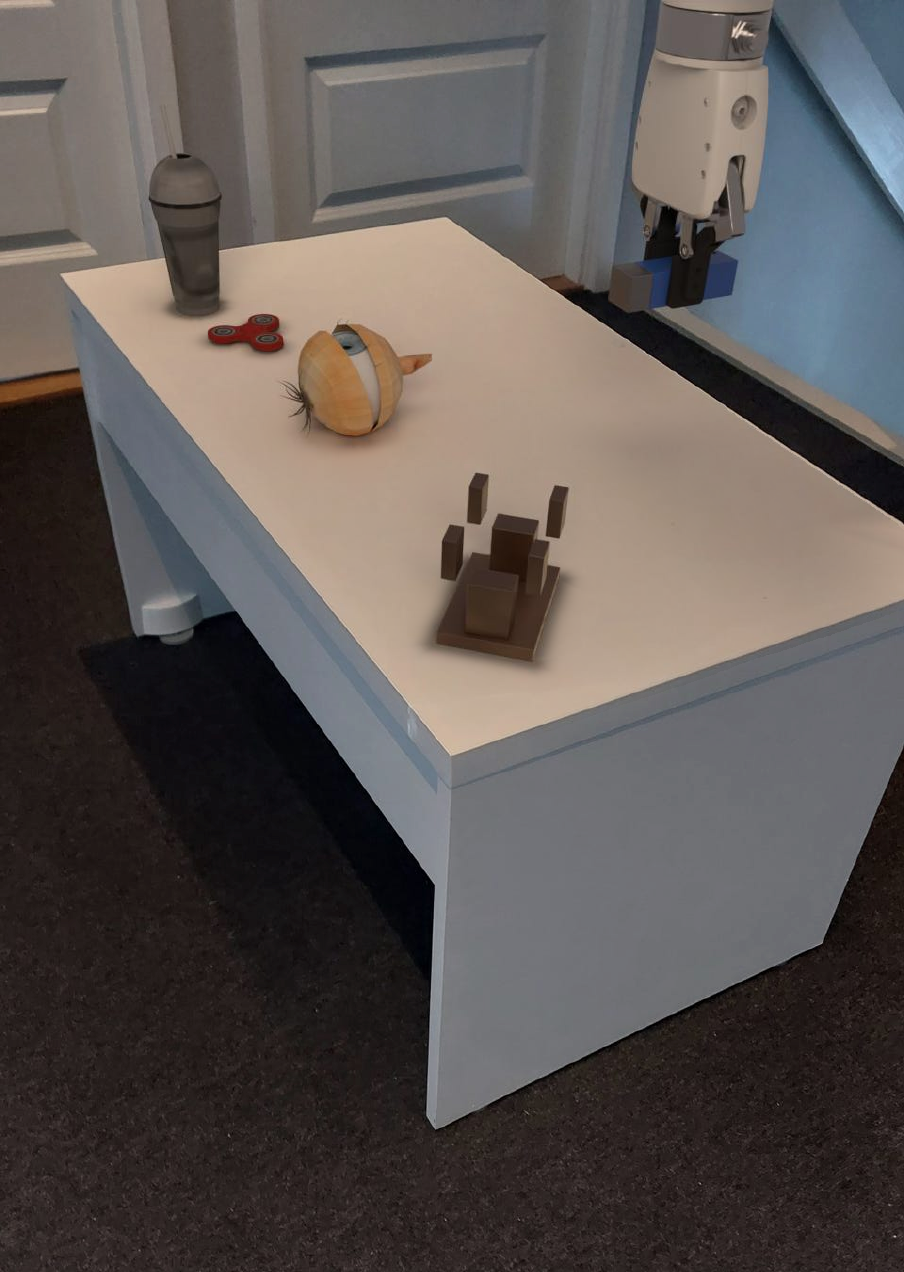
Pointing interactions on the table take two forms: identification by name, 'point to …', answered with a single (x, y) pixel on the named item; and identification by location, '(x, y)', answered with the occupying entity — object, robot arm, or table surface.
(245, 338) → the fidget spinner
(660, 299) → the blue eraser block
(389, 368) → the sculpture
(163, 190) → the beverage cup
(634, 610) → the table surface
